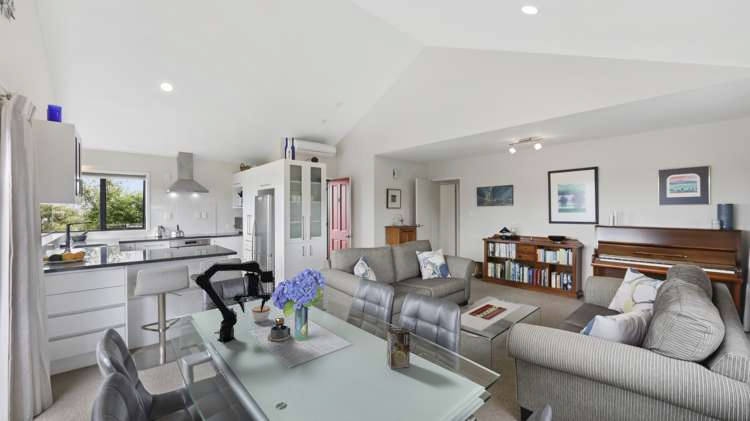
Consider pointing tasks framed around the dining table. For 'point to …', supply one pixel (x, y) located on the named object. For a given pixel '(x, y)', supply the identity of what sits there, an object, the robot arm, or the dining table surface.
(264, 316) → the lidded jar
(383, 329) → the dining table surface
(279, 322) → the plunger
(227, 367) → the dining table surface
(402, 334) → the coffee box
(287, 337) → the press body
